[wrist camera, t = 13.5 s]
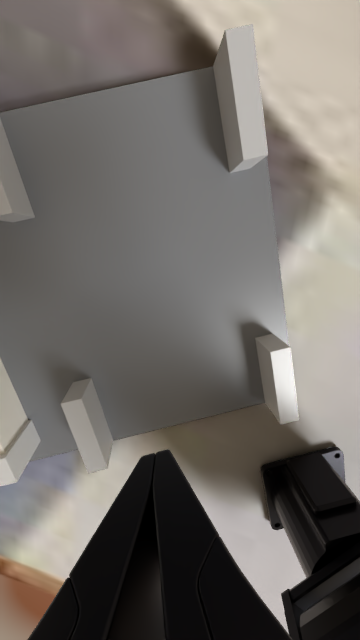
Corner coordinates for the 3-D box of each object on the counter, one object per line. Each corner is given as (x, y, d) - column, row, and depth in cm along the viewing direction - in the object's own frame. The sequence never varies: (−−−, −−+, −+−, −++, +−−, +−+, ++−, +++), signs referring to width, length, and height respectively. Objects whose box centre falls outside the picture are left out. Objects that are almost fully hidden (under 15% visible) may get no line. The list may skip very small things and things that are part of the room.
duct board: (291, 390, 20) (319, 421, 17) (-77, 482, 20) (-127, 534, 16) (251, 64, 15) (281, 9, 11) (-266, 177, 14) (-404, 155, 11)
